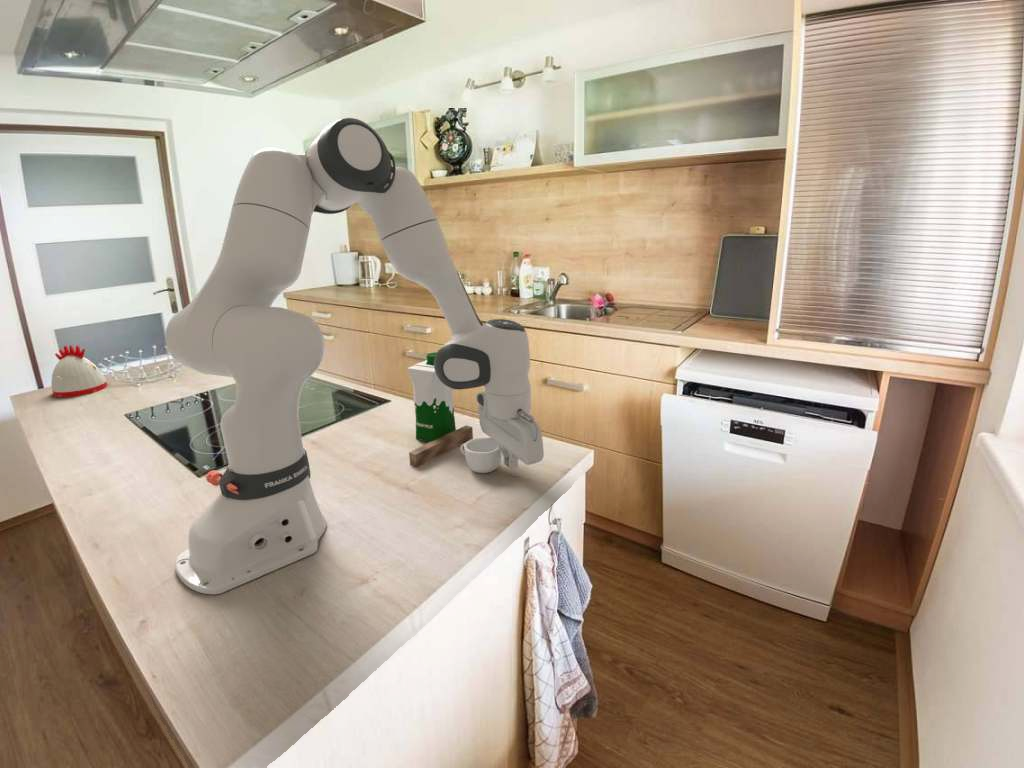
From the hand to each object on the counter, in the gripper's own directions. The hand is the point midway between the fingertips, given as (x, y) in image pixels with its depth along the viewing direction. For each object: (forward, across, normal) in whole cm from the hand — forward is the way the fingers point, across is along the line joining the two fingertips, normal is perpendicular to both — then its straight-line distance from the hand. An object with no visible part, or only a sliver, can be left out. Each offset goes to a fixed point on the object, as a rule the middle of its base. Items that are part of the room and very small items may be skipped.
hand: (511, 466), depth 105 cm
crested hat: (+1, +126, +91) cm, 155 cm away
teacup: (+2, +6, +4) cm, 8 cm away
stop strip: (+2, +18, +8) cm, 20 cm away
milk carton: (+2, +27, +6) cm, 28 cm away
